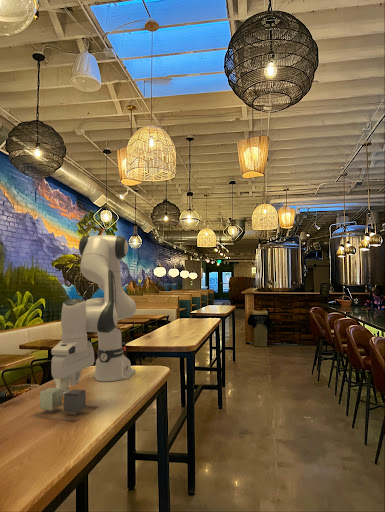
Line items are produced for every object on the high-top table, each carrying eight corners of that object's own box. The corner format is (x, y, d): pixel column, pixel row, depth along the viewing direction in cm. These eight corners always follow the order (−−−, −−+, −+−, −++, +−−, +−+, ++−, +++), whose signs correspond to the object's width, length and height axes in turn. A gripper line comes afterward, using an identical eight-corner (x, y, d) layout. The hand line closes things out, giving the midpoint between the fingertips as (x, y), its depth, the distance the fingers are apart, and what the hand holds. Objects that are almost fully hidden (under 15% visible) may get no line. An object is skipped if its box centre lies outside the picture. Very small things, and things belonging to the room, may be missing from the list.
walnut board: (56, 405, 141) (56, 402, 141) (99, 409, 135) (99, 406, 135) (27, 419, 127) (27, 416, 127) (74, 425, 121) (74, 422, 121)
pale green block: (49, 408, 135) (49, 387, 135) (61, 409, 133) (61, 388, 134) (40, 413, 130) (40, 391, 130) (52, 414, 128) (52, 392, 129)
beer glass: (65, 399, 147) (65, 361, 148) (49, 399, 149) (49, 361, 149) (74, 394, 154) (74, 358, 155) (59, 393, 155) (59, 357, 156)
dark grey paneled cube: (73, 406, 132) (73, 389, 132) (85, 407, 130) (85, 390, 131) (64, 411, 127) (63, 393, 127) (76, 412, 125) (76, 394, 126)
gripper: (84, 339, 141) (84, 375, 140) (47, 350, 121) (48, 393, 121) (98, 339, 139) (98, 376, 138) (63, 351, 120) (64, 394, 119)
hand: (74, 384), depth 130 cm, fingers closed
